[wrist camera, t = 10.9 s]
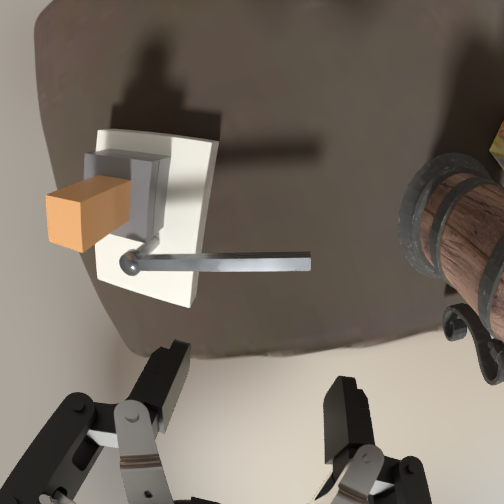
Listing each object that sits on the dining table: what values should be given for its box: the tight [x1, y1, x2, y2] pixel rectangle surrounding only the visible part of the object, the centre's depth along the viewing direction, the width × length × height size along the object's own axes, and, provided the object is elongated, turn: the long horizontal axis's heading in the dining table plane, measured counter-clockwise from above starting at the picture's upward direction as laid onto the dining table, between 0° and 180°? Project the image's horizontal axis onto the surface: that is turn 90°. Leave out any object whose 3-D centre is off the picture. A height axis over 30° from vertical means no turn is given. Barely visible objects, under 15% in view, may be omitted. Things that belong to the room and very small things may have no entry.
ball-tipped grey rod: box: [119, 249, 311, 276], centre depth 25 cm, size 18×2×1 cm, turn 95°
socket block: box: [95, 129, 219, 308], centre depth 29 cm, size 20×14×8 cm
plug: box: [46, 151, 159, 253], centre depth 23 cm, size 8×8×12 cm
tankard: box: [398, 153, 504, 385], centre depth 20 cm, size 24×17×20 cm
